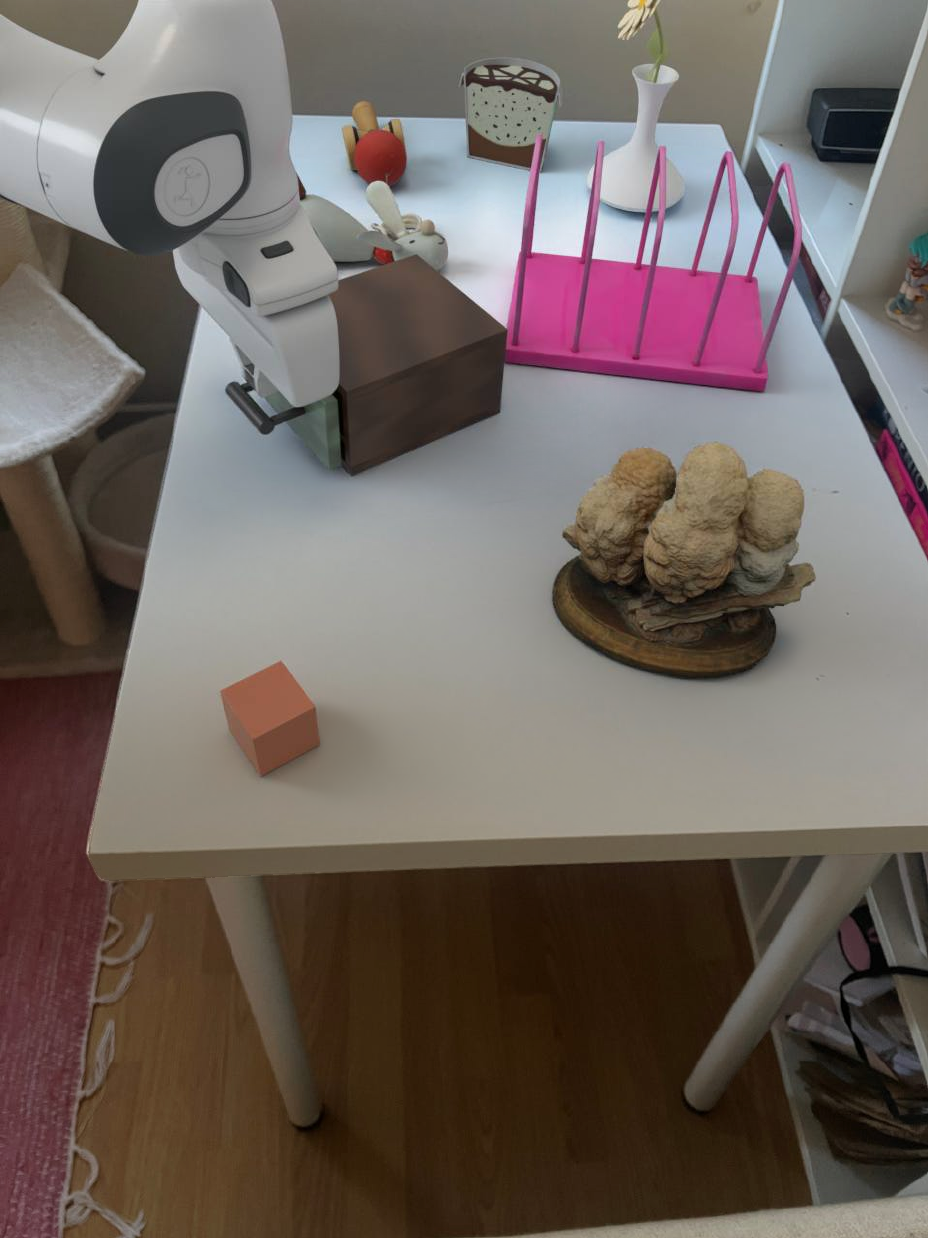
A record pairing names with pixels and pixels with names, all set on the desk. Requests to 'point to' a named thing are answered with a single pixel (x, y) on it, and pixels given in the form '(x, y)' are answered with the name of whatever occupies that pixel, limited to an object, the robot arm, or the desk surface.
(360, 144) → the kendama
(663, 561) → the owl figurine
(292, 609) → the desk surface
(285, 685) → the block
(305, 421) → the drawer
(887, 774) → the desk surface
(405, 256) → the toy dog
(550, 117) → the food container
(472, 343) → the cabinet
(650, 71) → the flower in vase
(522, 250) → the file sorter
